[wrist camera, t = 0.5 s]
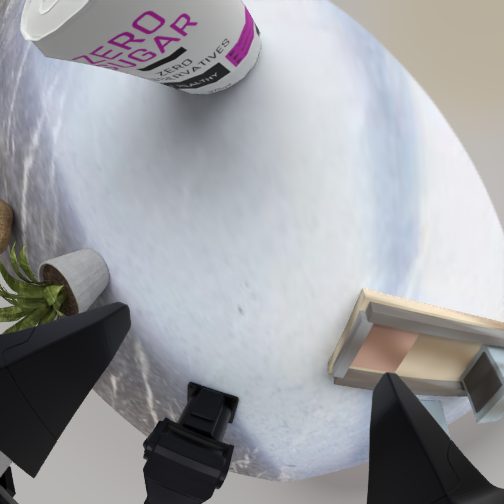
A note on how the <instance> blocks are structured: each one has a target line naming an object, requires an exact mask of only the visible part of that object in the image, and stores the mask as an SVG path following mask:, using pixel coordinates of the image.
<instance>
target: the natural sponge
mask: <svg viewBox="0 0 504 504" xmlns="http://www.w3.org/2000/svg"><path fill="white" fill-rule="evenodd" d="M12 223H13V211H12V209H11V207H10V206H9V205H8V204H7V203H6V202H5V201H3V200H2V199H0V254H1V253H2V252H4V251H5V249H6V248H7V247H8V245H9V242H10V239H11V226H12Z"/></svg>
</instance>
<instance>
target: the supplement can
mask: <svg viewBox="0 0 504 504" xmlns="http://www.w3.org/2000/svg"><path fill="white" fill-rule="evenodd" d="M21 33H22V34H23V36H24V38H25V40H28V41H32V42H33V43H34V44H35V45H36V47H37V48H38V49H39V50H40V51H41V52H42V53H43V54H44V56H45V57H49V58H55V59H60V60H67V61H73V62H78V63H84V64H89V65H94V66H98V67H103V68H107V69H111V70H116V71H120V72H123V73H127V74H131V75H135V76H138V77H142V78H145V79H148V80H152V81H155V82H158V83H161V84H164V85H167V86H170V87H173V88H176V89H179V90H182V91H185V92H187V93H190V94H211V93H215V92H218V91H221V90H225V89H227V88H229V87H231V86H232V85H234V84H235V83H237V82H238V81H240V80H241V79H243V78H244V77H245V76H246V74H247V73H248V72H249V71H250V70H251V68H252V67H253V66H254V65H255V63H256V60H257V58H258V55H259V52H260V50H261V37H260V32H259V30H258V28H257V26H256V24H255V22H254V20H253V19H252V17H251V15H250V13H249V12H248V10H247V8H246V6H245V5H244V3H243V1H242V0H27V1H26V4H25V7H24V10H23V13H22V16H21Z"/></svg>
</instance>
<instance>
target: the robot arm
mask: <svg viewBox="0 0 504 504" xmlns="http://www.w3.org/2000/svg"><path fill="white" fill-rule="evenodd" d="M130 326H131V319H130V310H129V306H128V305H126V304H124V303H121V302H116V303H112V304H109V305H105V306H102V307H99V308H95V309H92V310H89V311H85V312H82V313H78V314H75V315H72V316H68V317H65V318H61V319H58V320H54V321H51V322H48V323H44V324H41V325H37V326H36V327H35V326H34V327H30V328H27V329H23V330H19V331H15V332H10V333H6V334H1V335H0V504H18V503H17V502H16V501H15V500H14V499H13V496H14V495H15V494H16V493H15V488H14V484H13V478H12V472H11V467H10V466H9V465H10V464H11V463H12V461H13V462H14V463H15V464H16V465H17V466H19V467H20V468H21V469H22V470H24V471H25V472H26V473H27V474H29V475H30V476H31V477H33V478H35V476H36V475H37V473H38V471H39V470H40V468H41V466H42V465H43V463H44V461H45V460H46V458H47V456H48V455H49V453H50V452H51V450H52V448H53V446H54V445H55V444H56V442H57V440H58V439H59V437H60V435H61V434H62V432H63V431H64V429H65V427H66V426H67V425H68V423H69V422H70V420H71V418H72V417H73V415H74V414H75V412H76V411H77V409H78V408H79V406H80V405H81V404H82V402H83V401H84V399H85V398H86V396H87V395H88V393H89V392H90V390H91V389H92V388H93V386H94V385H95V383H96V382H97V380H98V379H99V378H100V376H101V375H102V373H103V372H104V371H105V369H106V368H107V366H108V365H109V363H110V362H111V361H112V359H113V357H114V356H115V354H116V352H117V350H118V349H119V347H120V345H121V343H122V342H123V340H124V338H125V336H126V335H127V333H128V331H129V329H130ZM238 401H239V399H238V398H237V397H235V396H232V395H229V394H225V393H222V392H219V391H216V390H213V389H210V388H207V387H204V386H201V385H198V384H195V383H192V382H190V383H189V384H188V400H187V405H186V407H185V409H184V411H183V413H182V415H181V416H180V418H179V420H178V422H177V423H175V422H173V421H171V420H170V419H168V418H166V417H165V419H164V420H163V421H159V422H158V424H157V425H156V427H155V429H154V430H153V432H152V433H151V434H150V435H149V436H148V438H147V439H146V440H145V441H144V443H143V446H144V449H145V451H144V453H145V454H144V457H143V458H144V459H146V460H147V462H146V464H145V466H144V468H143V472H144V479H145V484H146V491H147V498H146V500H145V502H144V504H202V503H203V502H205V501H206V500H208V499H209V498H211V497H212V495H213V492H214V490H215V489H219V488H220V487H221V485H222V484H223V482H224V480H225V478H226V476H227V473H228V470H229V466H230V462H231V457H232V453H233V449H234V446H233V445H228V444H226V443H223V442H221V441H222V438H223V436H224V433H225V430H226V427H227V425H228V423H232V422H233V419H234V415H235V412H236V408H237V405H238ZM367 504H504V489H502V488H498V487H496V486H493V485H492V484H491V483H489V481H488V480H487V479H486V478H485V477H484V476H483V475H482V474H481V473H480V472H479V471H478V470H477V469H476V468H475V467H474V466H473V465H472V464H471V462H470V461H469V460H468V459H467V458H466V457H465V456H464V455H463V453H462V452H461V451H460V450H459V449H458V447H457V446H456V445H455V444H454V442H453V441H452V440H450V437H449V436H448V435H447V434H446V432H445V431H444V430H443V429H442V427H441V426H440V425H439V424H438V422H437V421H436V420H435V419H434V418H433V416H432V415H431V414H430V413H429V411H428V410H427V409H426V408H425V407H424V405H423V404H422V403H421V402H420V401H419V399H418V398H417V397H416V396H415V395H414V393H413V392H412V391H411V390H410V389H409V387H408V386H407V385H406V384H405V383H404V382H403V380H402V379H401V378H400V377H399V376H398V375H397V374H396V373H391V372H386V373H384V374H383V376H382V377H381V379H380V380H379V382H378V383H377V385H376V386H375V388H374V390H373V397H372V410H371V421H370V451H369V480H368V494H367Z"/></svg>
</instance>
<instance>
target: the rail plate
mask: <svg viewBox="0 0 504 504" xmlns="http://www.w3.org/2000/svg"><path fill="white" fill-rule="evenodd" d="M386 372H391V373H396V374H397V375H398V376H399V377H400V378H401V379H402V380H403V382H404V383H405V384H406V385H407V386H408V387H409V389H410V390H411V391H412V392H413V393H414V394H416V395H433V396H468V398H469V401H470V404H471V406H472V409H473V412H474V415H475V417H476V421H477V423H483V422H489V421H497V420H499V419H500V418H501V417H502V416H503V415H504V323H503V322H499V321H495V320H490V319H486V318H482V317H478V316H474V315H470V314H465V313H461V312H457V311H453V310H449V309H445V308H441V307H437V306H433V305H429V304H425V303H420V302H416V301H412V300H408V299H404V298H400V297H396V296H392V295H388V294H384V293H380V292H376V291H372V290H368V289H365V288H363V289H362V292H361V294H360V296H359V299H358V301H357V304H356V306H355V308H354V310H353V313H352V315H351V317H350V319H349V322H348V324H347V326H346V328H345V330H344V332H343V334H342V337H341V339H340V341H339V343H338V345H337V347H336V349H335V351H334V353H333V355H332V357H331V359H330V361H329V363H328V373H329V374H333V376H334V384H337V385H343V386H349V387H355V388H362V389H369V390H374V388H375V386H376V385H377V383H378V382H379V380H380V379H381V377H382V376H383V374H384V373H386Z"/></svg>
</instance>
